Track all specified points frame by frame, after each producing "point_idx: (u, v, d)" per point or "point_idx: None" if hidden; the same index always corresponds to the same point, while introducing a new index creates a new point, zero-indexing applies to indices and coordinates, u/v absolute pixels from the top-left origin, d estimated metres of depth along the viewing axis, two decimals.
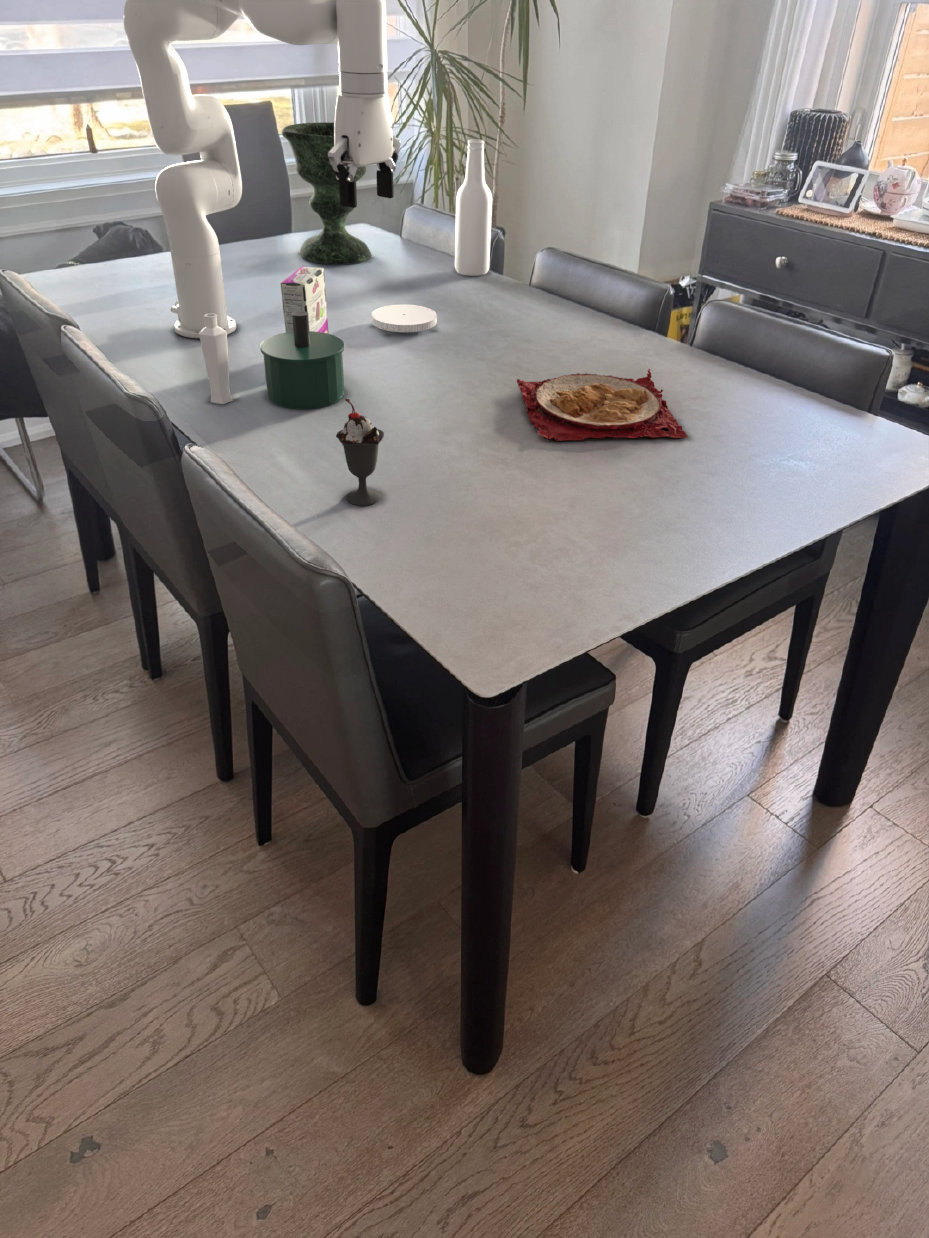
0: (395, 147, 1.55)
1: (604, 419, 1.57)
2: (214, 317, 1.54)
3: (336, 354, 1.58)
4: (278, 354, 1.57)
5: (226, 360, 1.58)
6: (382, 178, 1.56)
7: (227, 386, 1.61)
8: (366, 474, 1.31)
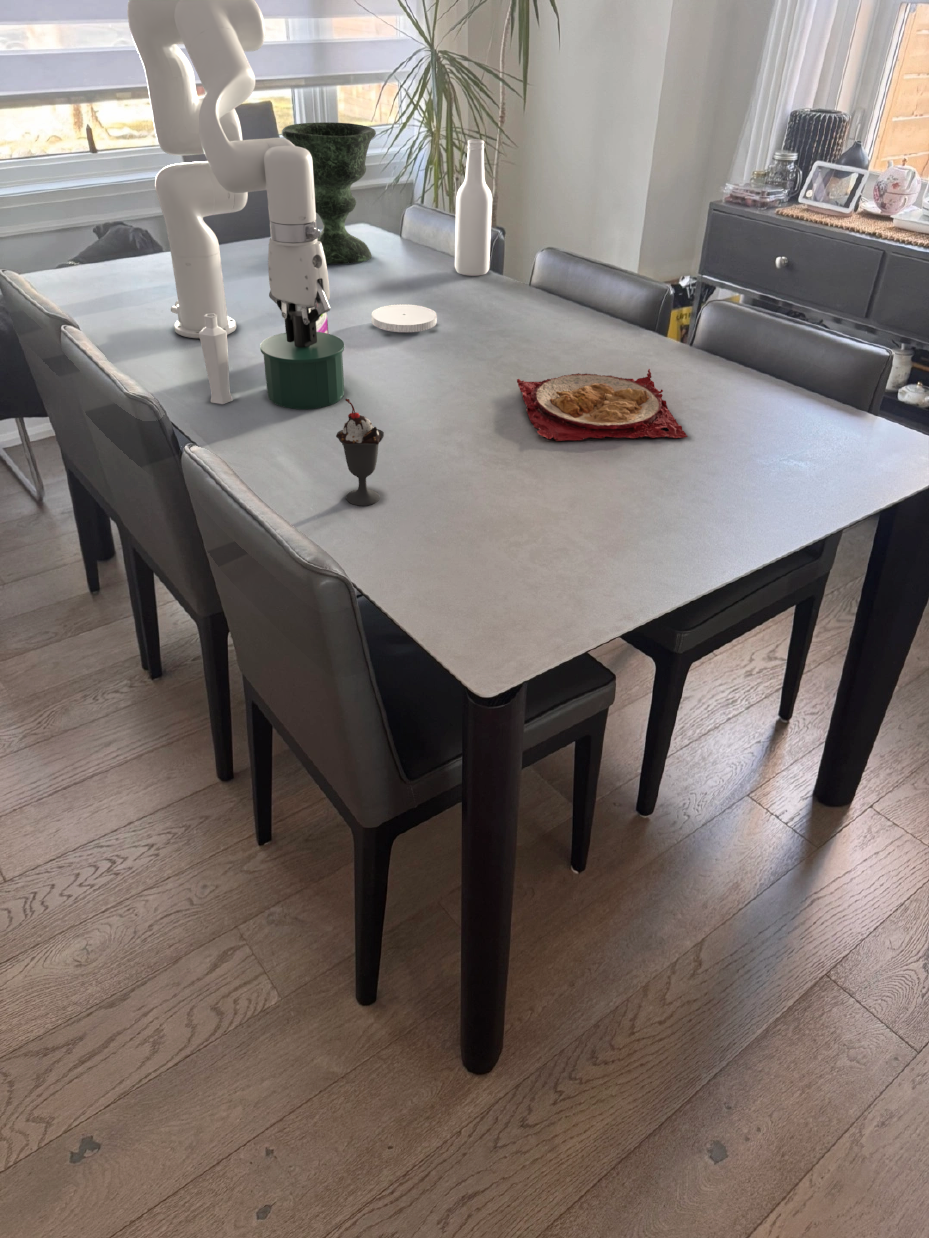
0: (318, 307, 1.54)
1: (604, 419, 1.57)
2: (214, 317, 1.54)
3: (336, 354, 1.58)
4: (278, 354, 1.57)
5: (226, 360, 1.58)
6: None
7: (227, 386, 1.61)
8: (366, 474, 1.31)
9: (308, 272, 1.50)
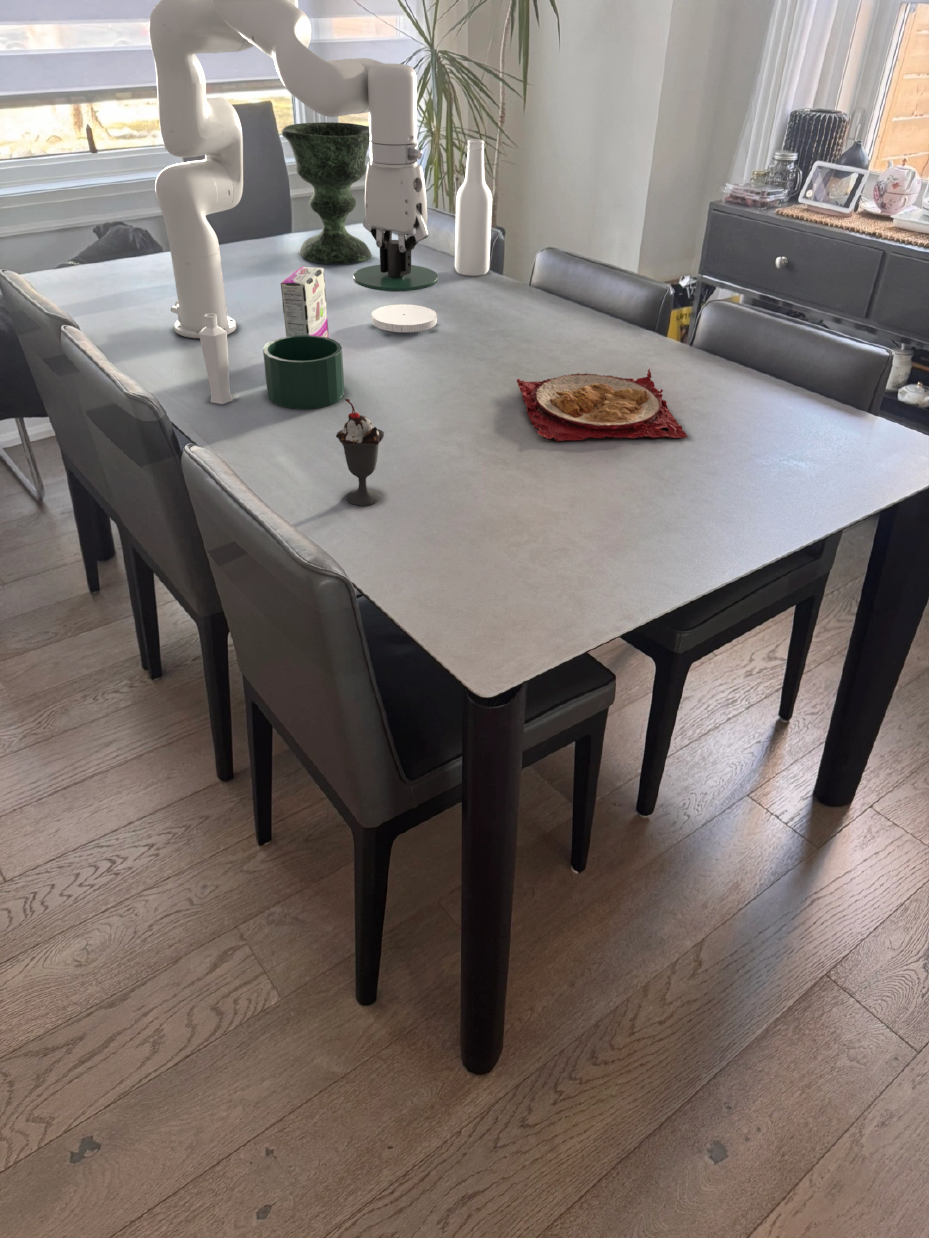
0: (416, 233, 1.50)
1: (604, 419, 1.57)
2: (214, 317, 1.54)
3: (432, 283, 1.55)
4: (373, 283, 1.53)
5: (226, 360, 1.58)
6: None
7: (227, 386, 1.61)
8: (366, 474, 1.31)
9: (408, 195, 1.46)
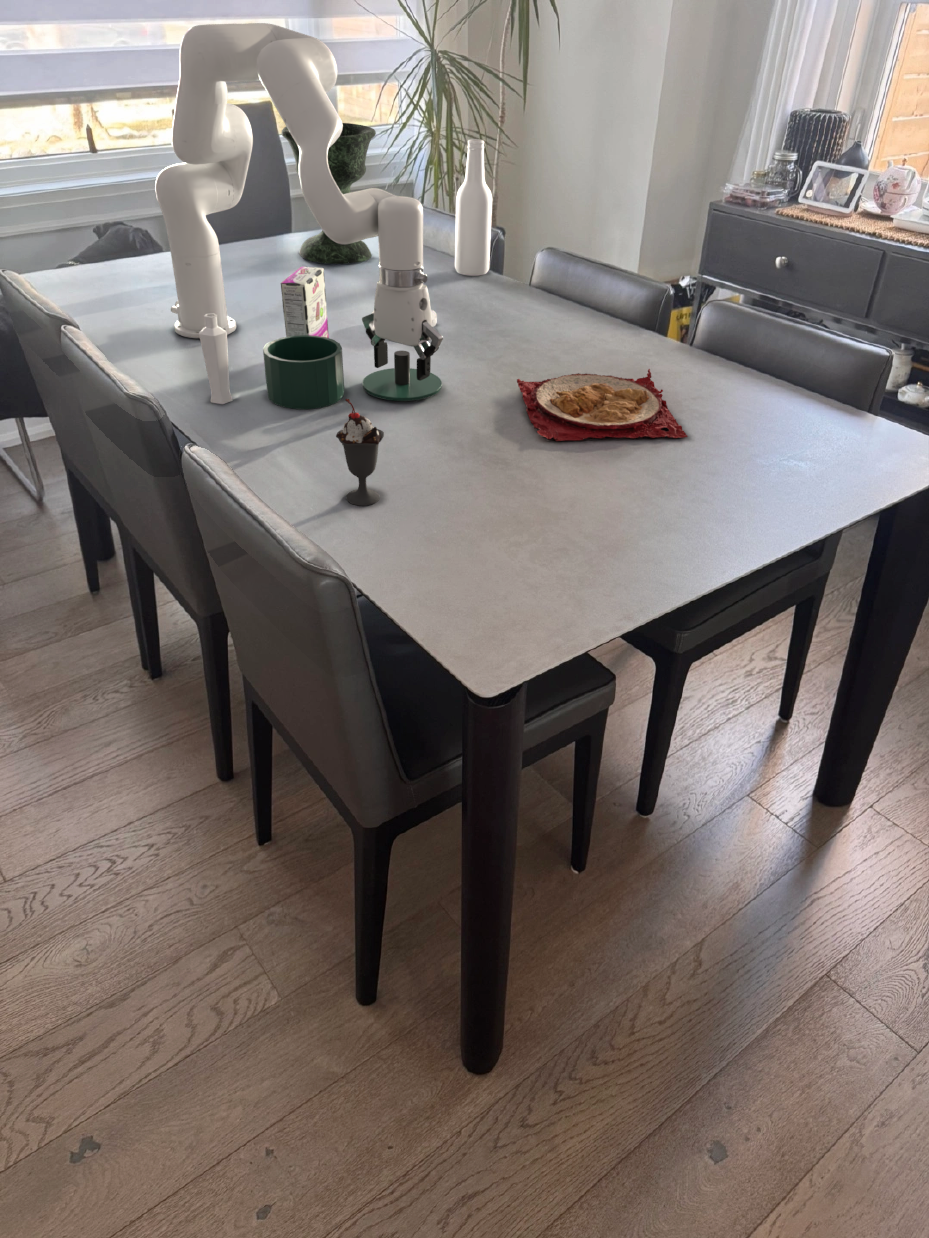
0: (431, 341, 1.60)
1: (604, 419, 1.57)
2: (214, 317, 1.54)
3: (436, 392, 1.66)
4: (382, 392, 1.65)
5: (226, 360, 1.58)
6: None
7: (227, 386, 1.61)
8: (366, 474, 1.31)
9: (415, 314, 1.58)
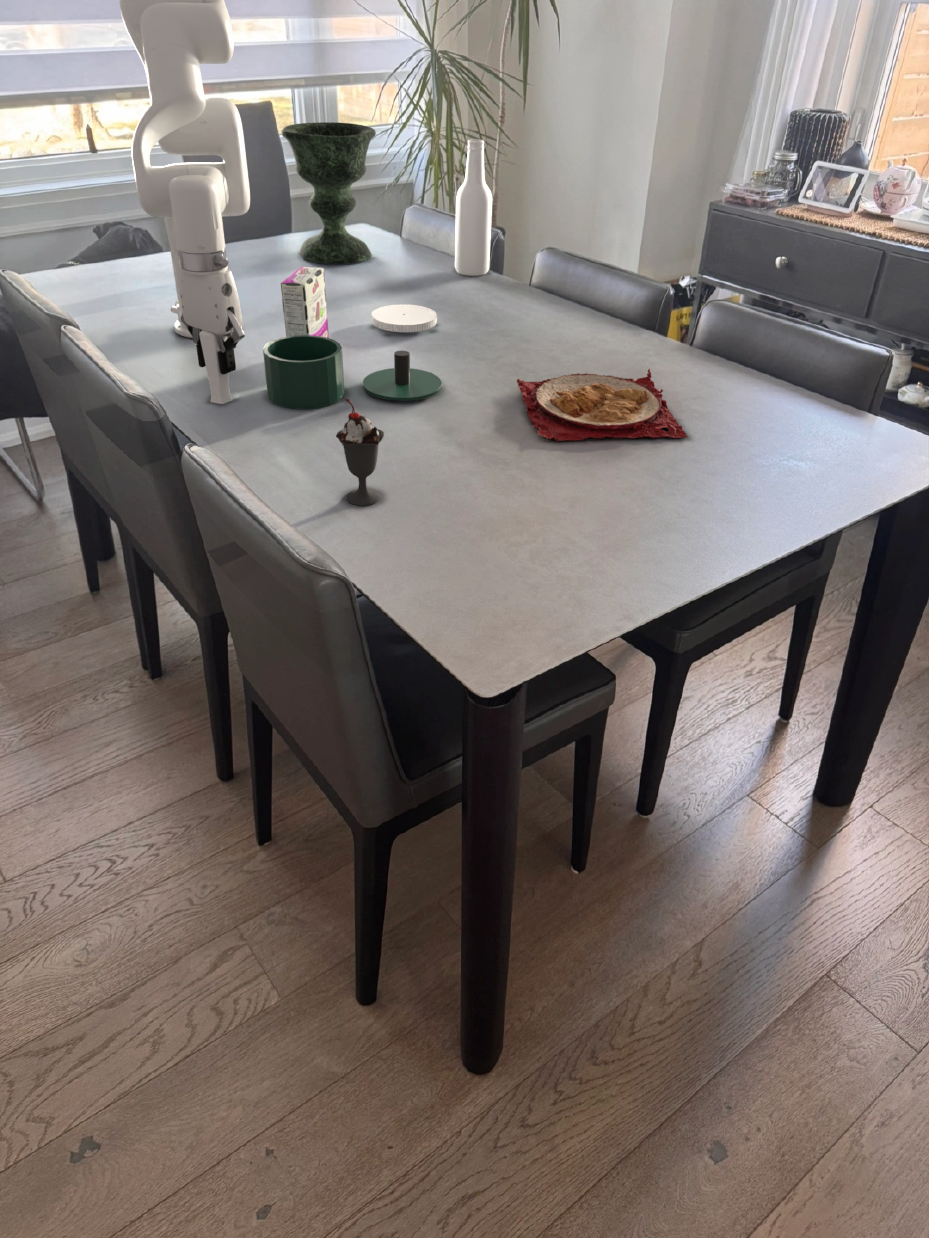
0: (232, 334, 1.53)
1: (604, 419, 1.57)
2: None
3: (436, 392, 1.66)
4: (382, 392, 1.65)
5: None
6: None
7: (227, 386, 1.61)
8: (366, 474, 1.31)
9: (217, 301, 1.49)
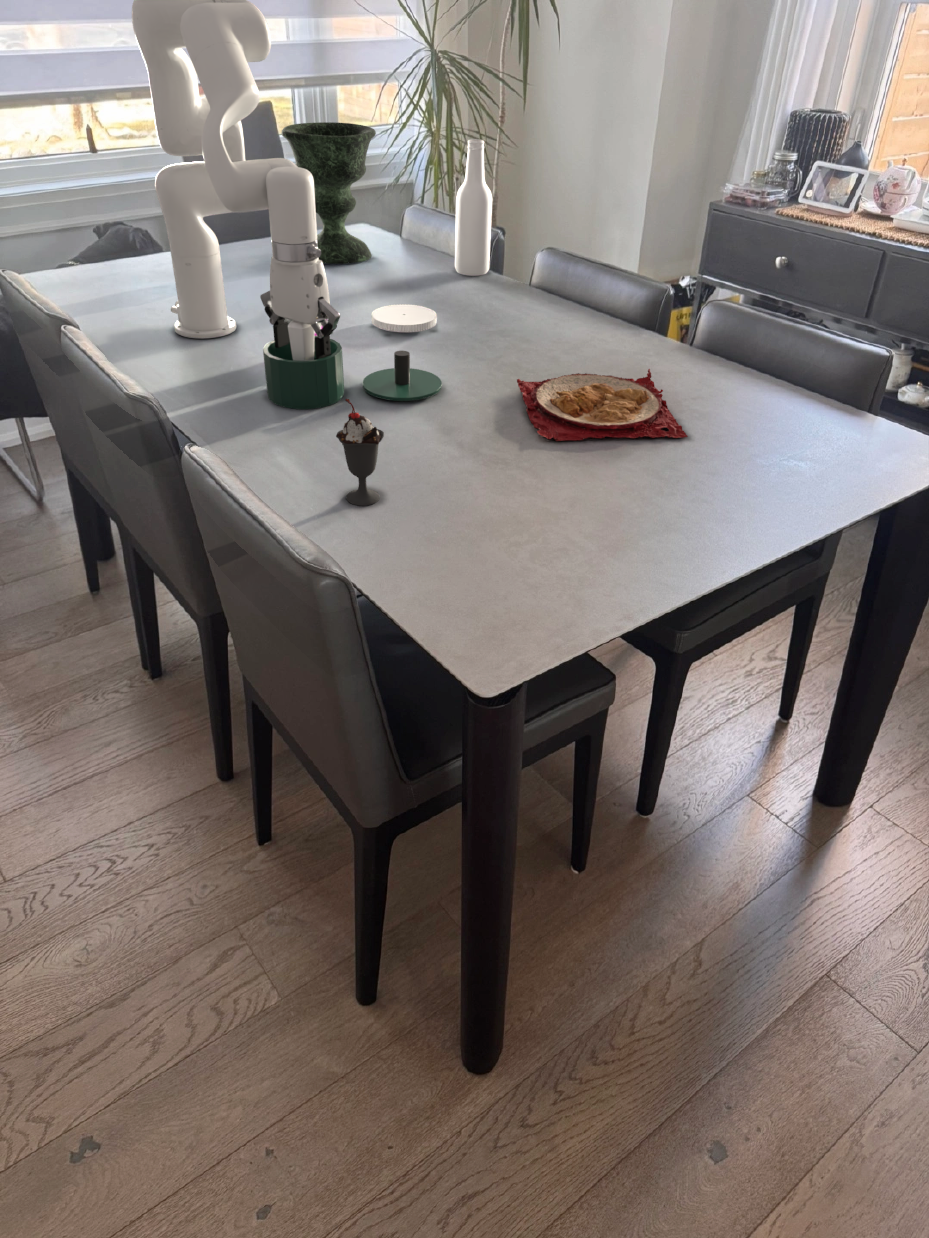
0: (328, 318, 1.54)
1: (604, 419, 1.57)
2: None
3: (436, 392, 1.66)
4: (382, 392, 1.65)
5: (312, 353, 1.61)
6: None
7: None
8: (366, 474, 1.31)
9: (309, 291, 1.51)
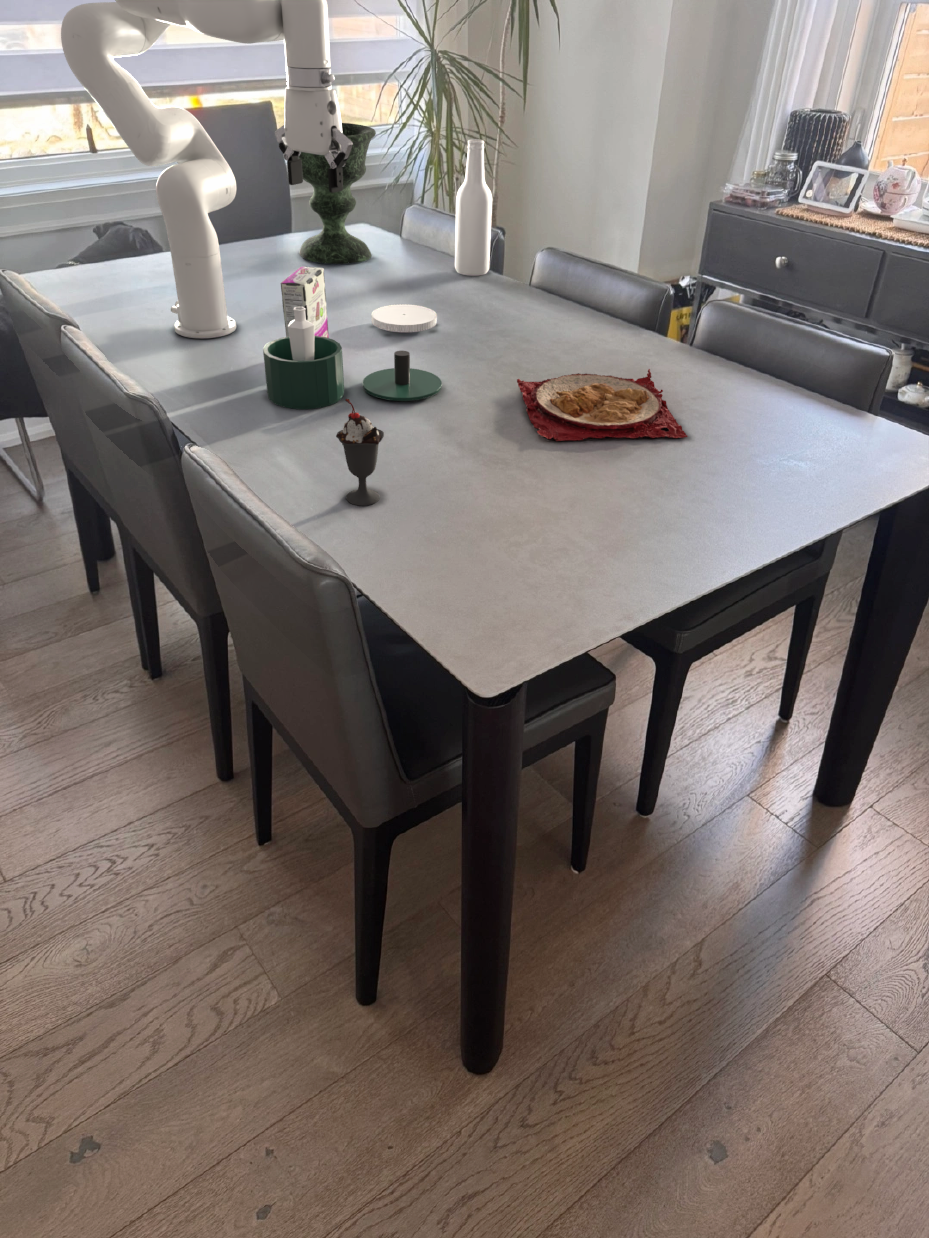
0: (341, 147, 1.59)
1: (604, 419, 1.57)
2: (303, 310, 1.57)
3: (436, 392, 1.66)
4: (382, 392, 1.65)
5: (312, 353, 1.61)
6: None
7: None
8: (366, 474, 1.31)
9: (323, 118, 1.56)
